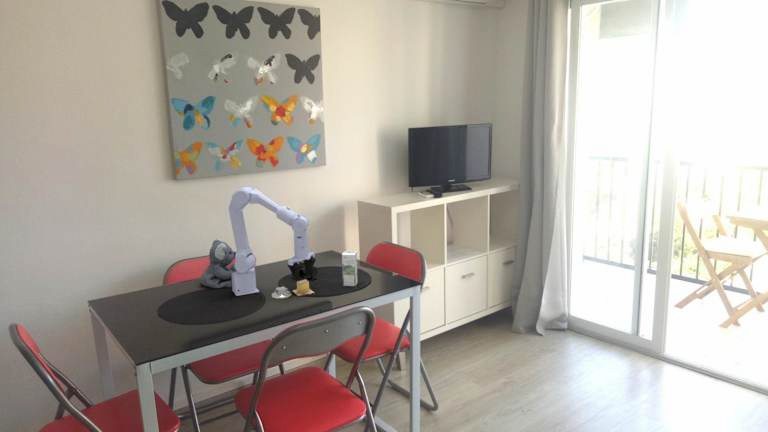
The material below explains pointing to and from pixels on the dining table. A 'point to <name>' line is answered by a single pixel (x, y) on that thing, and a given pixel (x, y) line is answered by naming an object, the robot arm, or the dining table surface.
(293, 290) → the pad
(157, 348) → the dining table surface
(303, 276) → the black open frame block
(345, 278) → the syrup box
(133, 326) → the dining table surface
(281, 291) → the grey lumpy disc
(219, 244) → the koala plush
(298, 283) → the yellow cube
